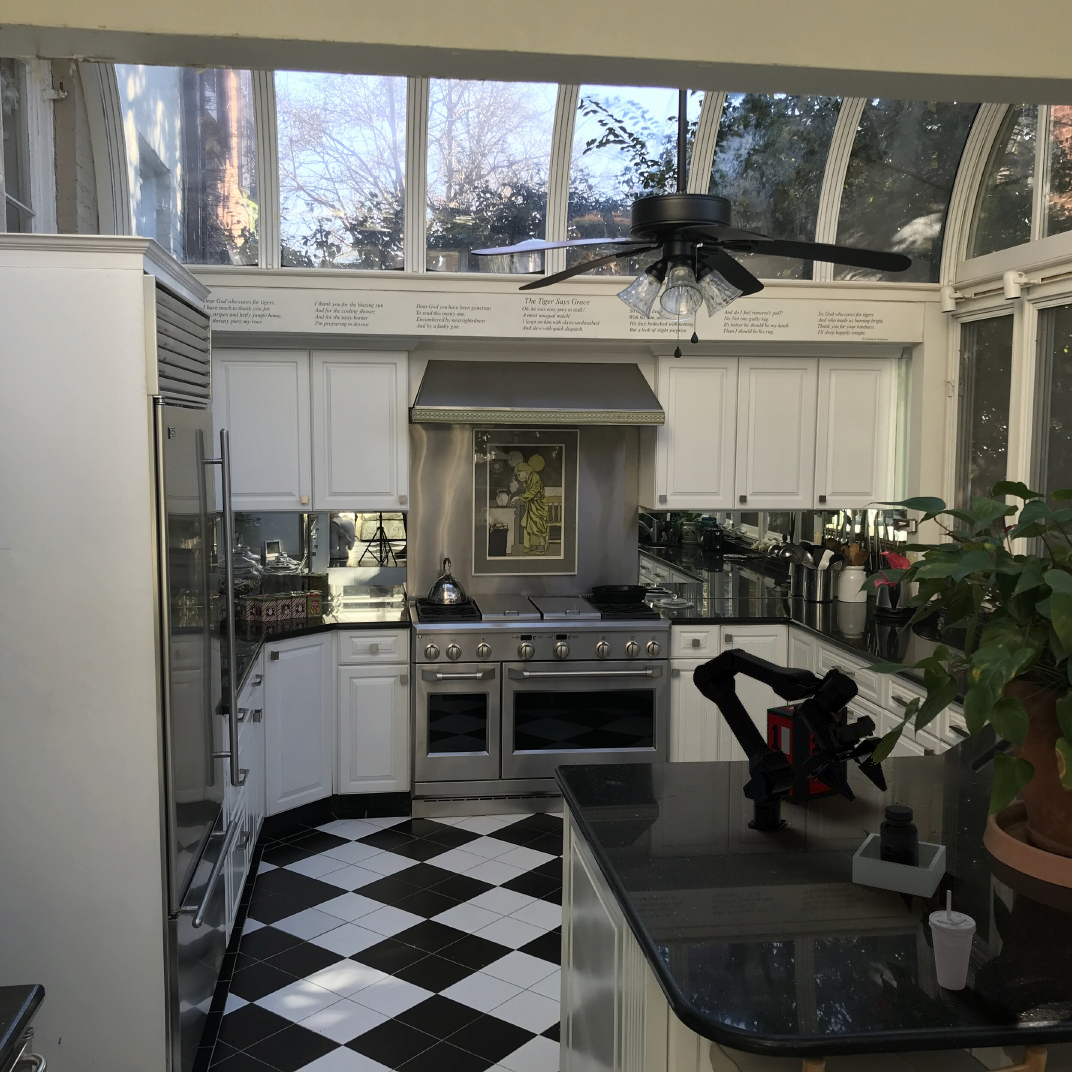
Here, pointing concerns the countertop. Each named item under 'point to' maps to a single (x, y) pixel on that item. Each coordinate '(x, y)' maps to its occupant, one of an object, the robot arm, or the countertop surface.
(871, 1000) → the countertop surface
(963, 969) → the smoothie
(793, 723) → the cleaning product box
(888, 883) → the box
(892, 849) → the supplement bottle
